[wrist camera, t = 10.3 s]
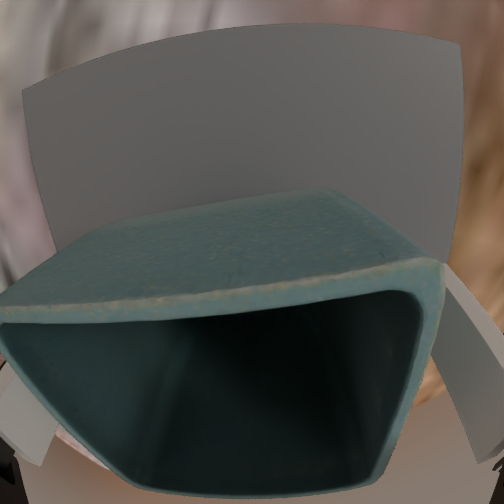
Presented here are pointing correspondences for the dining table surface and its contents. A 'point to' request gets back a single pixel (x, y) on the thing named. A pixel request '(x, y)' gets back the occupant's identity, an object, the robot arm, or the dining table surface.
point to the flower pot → (232, 344)
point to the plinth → (254, 126)
